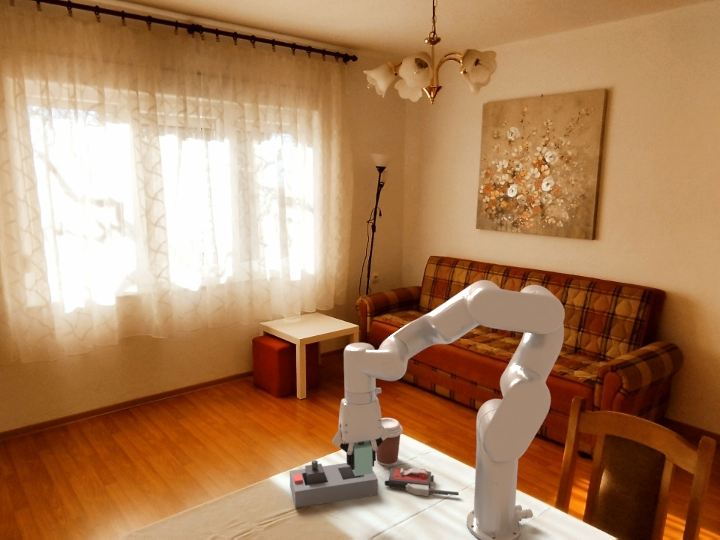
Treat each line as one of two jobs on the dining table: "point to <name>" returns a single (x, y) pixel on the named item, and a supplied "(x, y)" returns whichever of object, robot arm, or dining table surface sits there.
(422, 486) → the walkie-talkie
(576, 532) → the dining table surface
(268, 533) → the dining table surface
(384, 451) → the coffee cup
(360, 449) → the plug
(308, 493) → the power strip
